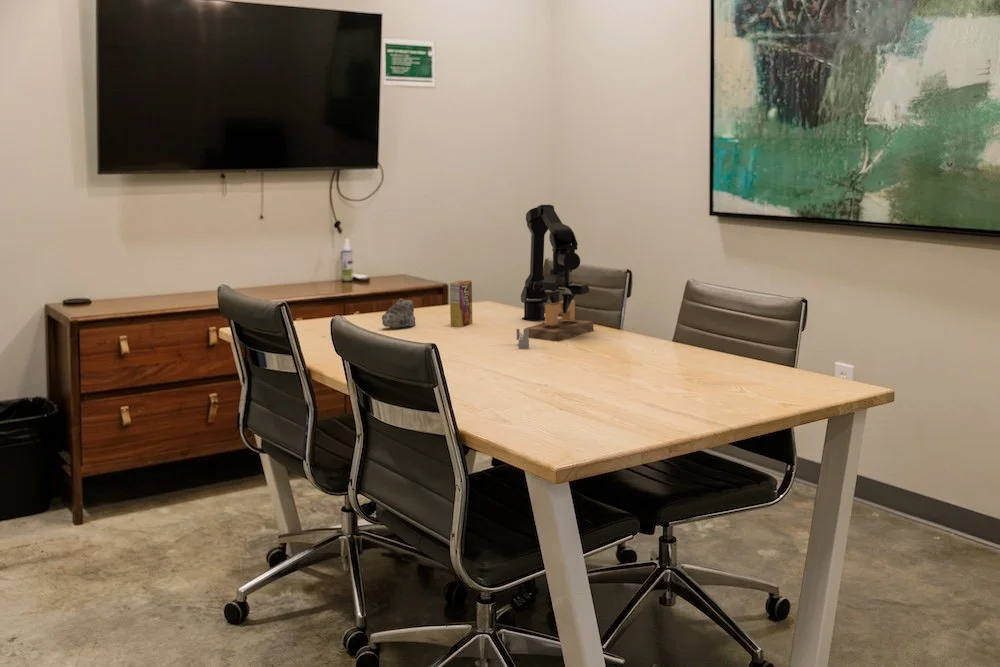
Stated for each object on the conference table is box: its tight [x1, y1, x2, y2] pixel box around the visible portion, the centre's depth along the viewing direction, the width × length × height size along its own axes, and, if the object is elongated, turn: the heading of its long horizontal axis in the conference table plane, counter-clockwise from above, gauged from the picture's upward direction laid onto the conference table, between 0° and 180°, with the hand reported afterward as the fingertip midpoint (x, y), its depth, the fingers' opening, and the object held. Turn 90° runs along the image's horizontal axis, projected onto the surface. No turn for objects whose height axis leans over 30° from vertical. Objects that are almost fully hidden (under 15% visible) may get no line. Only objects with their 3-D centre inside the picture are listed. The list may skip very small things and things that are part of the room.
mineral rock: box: [381, 298, 416, 329], centre depth 353 cm, size 13×11×10 cm
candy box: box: [449, 279, 473, 328], centre depth 358 cm, size 9×4×15 cm, turn 152°
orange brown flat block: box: [544, 299, 576, 325], centre depth 344 cm, size 3×14×6 cm, turn 146°
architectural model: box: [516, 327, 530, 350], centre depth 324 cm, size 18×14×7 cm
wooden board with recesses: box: [525, 318, 594, 342], centre depth 345 cm, size 12×24×3 cm, turn 146°
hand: (560, 312), depth 344 cm, fingers closed on orange brown flat block, 3 cm apart
